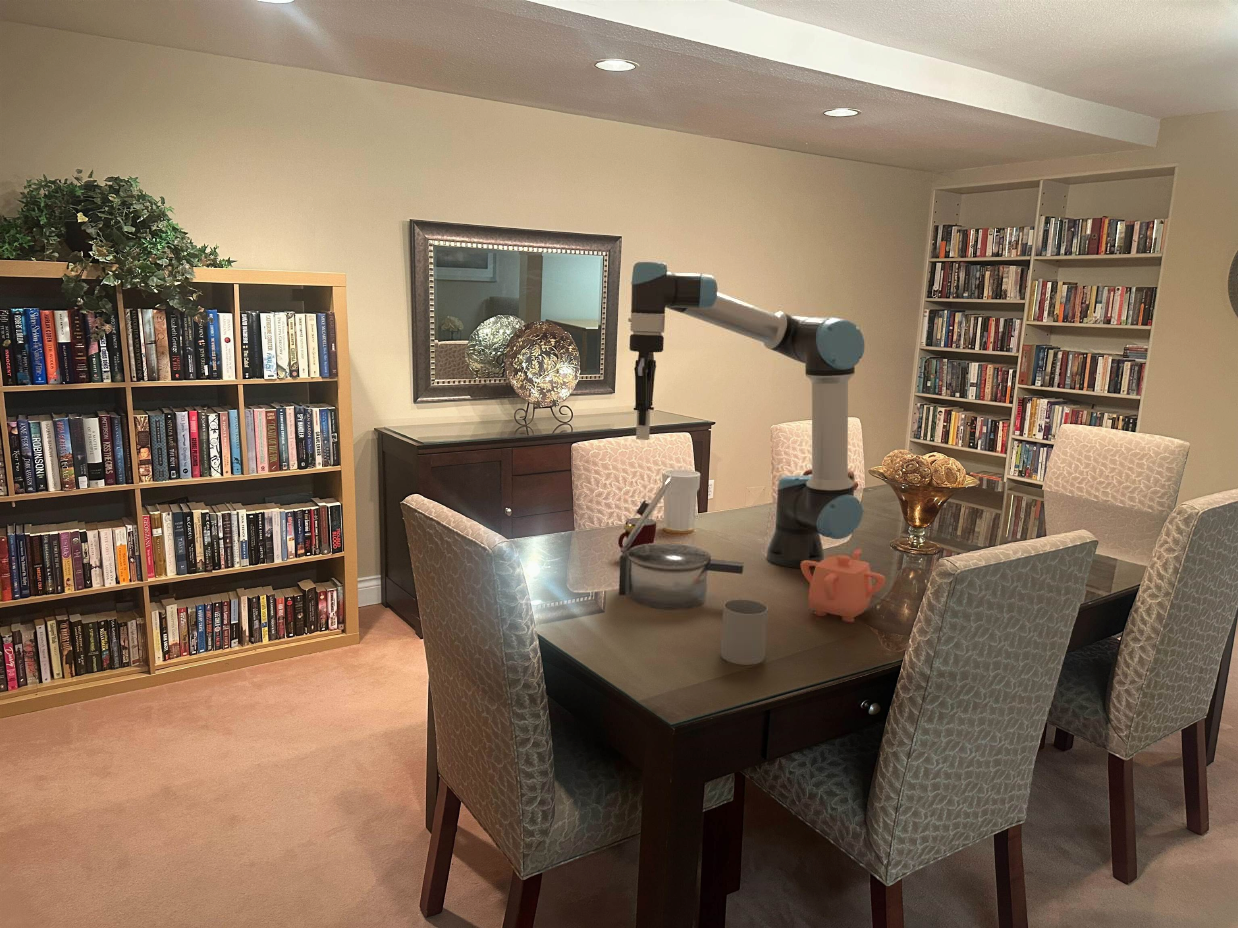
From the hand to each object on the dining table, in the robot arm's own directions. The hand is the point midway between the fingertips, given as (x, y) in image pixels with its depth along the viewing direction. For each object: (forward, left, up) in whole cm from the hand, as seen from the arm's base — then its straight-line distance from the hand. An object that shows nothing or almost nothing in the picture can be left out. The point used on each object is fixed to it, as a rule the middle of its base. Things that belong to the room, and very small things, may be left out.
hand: (642, 439), depth 198 cm
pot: (-10, 0, -36) cm, 38 cm away
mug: (+6, -27, -37) cm, 46 cm away
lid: (-2, 0, -18) cm, 18 cm away
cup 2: (-27, +30, -37) cm, 55 cm away
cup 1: (0, -61, -37) cm, 71 cm away
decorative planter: (-44, -111, -37) cm, 125 cm away
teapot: (-46, -2, -37) cm, 59 cm away
